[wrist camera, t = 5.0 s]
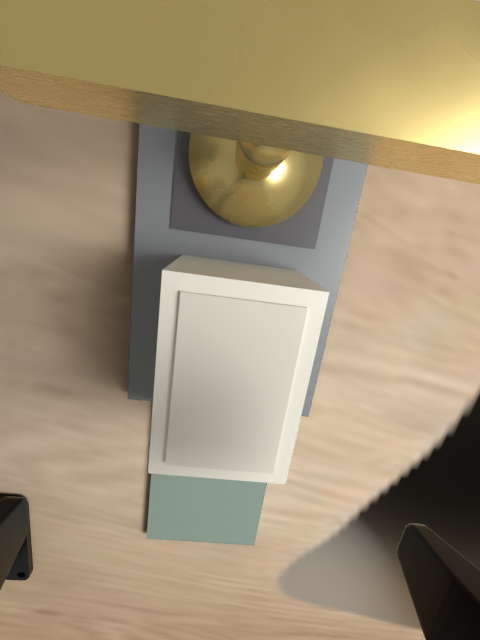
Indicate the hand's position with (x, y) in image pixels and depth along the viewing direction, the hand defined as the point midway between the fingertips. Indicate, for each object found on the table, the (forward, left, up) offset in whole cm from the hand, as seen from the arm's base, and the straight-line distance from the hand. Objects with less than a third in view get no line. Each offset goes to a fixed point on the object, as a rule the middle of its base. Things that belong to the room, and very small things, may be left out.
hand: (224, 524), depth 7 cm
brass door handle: (+10, 0, -9) cm, 13 cm away
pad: (-8, 0, -10) cm, 13 cm away
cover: (+1, 0, -9) cm, 9 cm away
